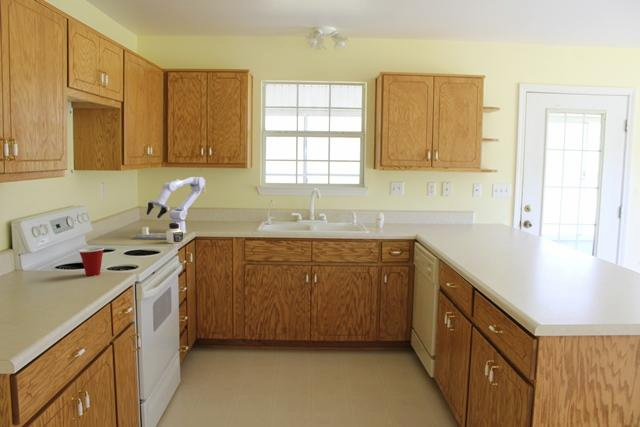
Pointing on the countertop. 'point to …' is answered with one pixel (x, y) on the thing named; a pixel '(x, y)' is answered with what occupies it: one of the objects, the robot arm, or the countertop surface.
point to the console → (151, 236)
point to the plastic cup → (92, 260)
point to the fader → (145, 230)
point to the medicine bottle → (174, 234)
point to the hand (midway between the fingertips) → (152, 216)
